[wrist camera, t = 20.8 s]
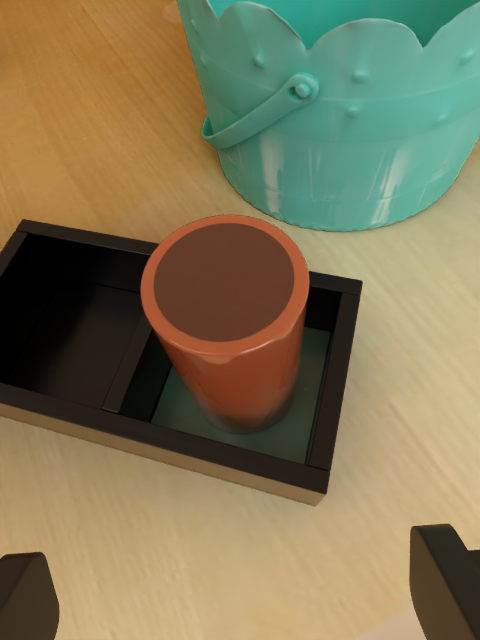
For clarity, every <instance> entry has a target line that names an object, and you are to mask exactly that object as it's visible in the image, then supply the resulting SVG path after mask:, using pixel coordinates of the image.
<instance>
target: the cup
mask: <svg viewBox="0 0 480 640" xmlns="http://www.w3.org/2000/svg"><path fill="white" fill-rule="evenodd" d="M140 293H141V302H142V307H143V310H144V313H145V316H146V318H147V319H148V321H149V323H150V325H151V327H152V328H153V330H154V332H155V334H156V336H157V337H158V339H159V341H160V343H161V345H162V346H163V348H164V350H165V352H166V354H167V355H168V357H169V359H170V361H171V363H172V364H173V366H174V368H175V370H176V372H177V373H178V375H179V377H180V379H181V381H182V382H183V384H184V386H185V388H186V390H187V391H188V393H189V395H190V397H191V399H192V400H193V402H194V404H195V406H196V408H197V409H198V411H199V412H200V414H201V415H202V416H203V417H204V418H205V419H206V420H207V421H208V422H209V423H210V424H212V425H213V426H215V427H217V428H219V429H221V430H223V431H226V432H230V433H236V434H250V433H255V432H259V431H262V430H264V429H266V428H269V427H270V426H272V425H274V424H275V423H276V422H278V421H279V420H280V419H281V418H282V417H283V416H284V415H285V414H286V412H287V411H288V409H289V408H290V406H291V404H292V402H293V400H294V397H295V393H296V388H297V380H298V372H299V364H300V356H301V348H302V340H303V332H304V324H305V316H306V308H307V301H308V293H309V272H308V268H307V264H306V261H305V259H304V257H303V254H302V253H301V251H300V249H299V248H298V246H297V245H296V244H295V243H294V241H293V240H292V239H291V238H290V237H289V236H288V235H287V234H285V233H284V232H283V231H282V230H280V229H279V228H277V227H276V226H274V225H272V224H270V223H268V222H265V221H263V220H260V219H257V218H253V217H249V216H242V215H218V216H212V217H207V218H203V219H200V220H197V221H194V222H192V223H189V224H187V225H185V226H183V227H181V228H180V229H178V230H176V231H175V232H173V233H172V234H171V235H169V236H168V237H167V238H166V239H165V240H164V241H163V242H162V243H161V244H160V245H159V246H158V247H157V248H156V249H155V251H154V252H153V253H152V255H151V257H150V258H149V260H148V262H147V264H146V267H145V269H144V272H143V276H142V280H141V288H140Z"/></svg>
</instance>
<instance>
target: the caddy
mask: <svg viewBox="0 0 480 640" xmlns="http://www.w3.org/2000/svg"><path fill="white" fill-rule="evenodd" d="M159 245H160V244H157V243H152V242H146V241H141V240H135V239H130V238H124V237H119V236H113V235H108V234H102V233H97V232H91V231H86V230H80V229H75V228H69V227H64V226H58V225H53V224H47V223H42V222H36V221H31V220H25V219H23V220H22V221H21V222H20V224H19V225H18V227H17V228H16V231H15V232H14V233H13V234H12V236H11V237H10V239H9V241H8V242H7V244H6V245H5V247H4V248H3V250H2V251H1V253H0V416H2V417H6V418H9V419H13V420H16V421H20V422H23V423H27V424H30V425H34V426H37V427H41V428H44V429H47V430H51V431H54V432H58V433H61V434H65V435H68V436H72V437H75V438H79V439H82V440H86V441H89V442H93V443H96V444H99V445H103V446H106V447H110V448H113V449H117V450H120V451H124V452H127V453H131V454H134V455H138V456H141V457H145V458H148V459H152V460H155V461H158V462H162V463H165V464H169V465H172V466H176V467H179V468H183V469H186V470H190V471H193V472H197V473H200V474H204V475H207V476H210V477H214V478H217V479H221V480H224V481H228V482H231V483H235V484H238V485H242V486H245V487H249V488H252V489H256V490H259V491H263V492H266V493H269V494H273V495H276V496H280V497H283V498H287V499H290V500H294V501H297V502H301V503H304V504H308V505H311V506H316V505H317V504H318V503H319V502H320V501H321V500H322V498H323V497H324V496H325V495H326V494H327V488H328V482H329V477H330V470H331V465H332V459H333V453H334V447H335V442H336V436H337V430H338V424H339V418H340V413H341V407H342V401H343V395H344V389H345V383H346V378H347V372H348V366H349V360H350V354H351V348H352V343H353V337H354V331H355V325H356V319H357V314H358V308H359V302H360V295H361V290H362V284H363V282H362V281H361V280H356V279H350V278H345V277H339V276H333V275H328V274H322V273H317V272H311V271H308V272H309V293H308V301H307V308H306V316H305V324H304V332H303V340H302V348H301V356H300V364H299V372H298V380H297V388H296V393H295V397H294V400H293V402H292V404H291V406H290V408H289V409H288V411H287V412H286V414H285V415H284V416H283V417H282V418H281V419H280V420H279V421H278V422H276V423H275V424H274V425H272V426H270V427H269V428H266V429H264V430H262V431H259V432H255V433H250V434H236V433H230V432H226V431H223V430H221V429H219V428H217V427H215V426H213V425H212V424H210V423H209V422H208V421H207V420H206V419H205V418H204V417H203V416H202V415H201V414H200V412H199V411H198V409H197V408H196V406H195V404H194V402H193V400H192V399H191V397H190V395H189V393H188V391H187V390H186V388H185V386H184V384H183V382H182V381H181V379H180V377H179V375H178V373H177V372H176V370H175V368H174V366H173V364H172V363H171V361H170V359H169V357H168V355H167V354H166V352H165V350H164V348H163V346H162V345H161V343H160V341H159V339H158V337H157V336H156V334H155V332H154V330H153V328H152V327H151V325H150V323H149V321H148V319H147V318H146V316H145V313H144V310H143V307H142V302H141V293H140V288H141V280H142V276H143V272H144V269H145V267H146V264H147V262H148V260H149V258H150V257H151V255H152V253H153V252H154V251H155V249H156V248H157V247H158V246H159Z"/></svg>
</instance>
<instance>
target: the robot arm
mask: <svg viewBox="0 0 480 640" xmlns="http://www.w3.org/2000/svg"><path fill="white" fill-rule="evenodd" d="M410 591H411V597H412V601H413V605H414V608H415V611H416V614H417V617H418V619H419V622H420V624H421V627H422V629H423V632H424V634H425V637H426V639H427V640H480V550H471V551H468V550H467V548H466V547H465V545H464V543H463V542H462V540H461V539H460V537H459V536H458V534H457V532H456V531H455V529H454V528H453V527H452V526H451V525H450V524H436V525H422V526H413V527H412V528H411V533H410ZM58 623H59V603H58V599H57V596H56V592H55V588H54V585H53V581H52V578H51V574H50V571H49V567H48V563H47V560H46V557H45V555H44V554H43V553H42V552H33V553H19V554H7V555H4V556H3V557H2V558H1V559H0V640H54V638H55V636H56V632H57V628H58Z"/></svg>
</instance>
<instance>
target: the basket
mask: <svg viewBox="0 0 480 640" xmlns="http://www.w3.org/2000/svg"><path fill="white" fill-rule="evenodd" d="M177 3H178V6H179V10H180V14H181V19H182V23H183V26H184V30H185V33H186V37H187V42H188V46H189V48H190V51H191V55H192V59H193V62H194V65H195V68H196V71H197V75H198V79H199V82H200V86H201V90H202V93H203V97H204V101H205V104H206V108H207V111H208V113H207V116H206V118H205V121H204V123H203V126H202V130H201V135H202V137H203V138H204V139H205V140H206V141H207V142H208V143H210V144H211V145H212V146H213V147H214V148H216V149H218V156H219V160H220V163H221V167H222V169H223V170H224V174H225V176H226V178H227V179H228V180H229V182H230V184H231V185H232V187H234V188H235V190H236V192H237V193H238V194H239V195H241V196H242V197H243V198H244V200H246V201H247V202H249V203H251V204H252V205H253V207H255V208H257V209H260V210H261V211H262V212H263V213H265V214H267V215H271V216H273V217H274V218H275V219H277V220H282V221H285V222H286V223H287V224H291V225H298V226H299V227H302V228H312V229H314V230H326V231H329V232H330V231H342V232H345V231H351V230H355V231H361V230H365V229H374V228H378V227H380V226H388V225H391V224H392V223H394V222H400V221H402V220H405V219H406V218H407V217H411V216H414V215H416V214H417V213H418V212H419V211H423V210H424V209H426V208H427V207H428V206H429V205H430V204H432V203H434V202H436V201H437V200H438V199H439V197H440V196H442V195H443V194H444V193H445V192H446V191H447V190H448V188H449V187H451V185H452V184H453V182H454V181H455V179H456V178H457V176H458V174H459V173H460V171H461V168H462V166H463V164H464V163H465V161H466V159H467V157H468V156H469V154H470V152H471V151H472V149H473V147H474V146H475V144H476V142H477V140H478V138H479V136H480V0H177Z"/></svg>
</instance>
